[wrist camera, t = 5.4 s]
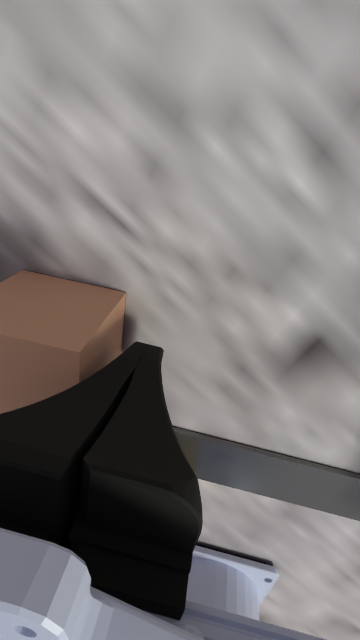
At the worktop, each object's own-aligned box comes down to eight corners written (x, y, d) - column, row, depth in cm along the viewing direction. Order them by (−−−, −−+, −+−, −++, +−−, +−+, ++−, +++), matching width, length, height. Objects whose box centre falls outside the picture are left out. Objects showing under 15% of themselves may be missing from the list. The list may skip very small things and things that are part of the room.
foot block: (118, 377, 15) (78, 455, 11) (29, 356, 16) (-41, 425, 12) (126, 292, 13) (79, 352, 9) (22, 269, 14) (-66, 318, 10)
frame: (429, 541, 17) (477, 639, 14) (92, 453, 18) (58, 524, 15) (470, 502, 16) (537, 603, 12) (95, 407, 17) (58, 475, 13)
